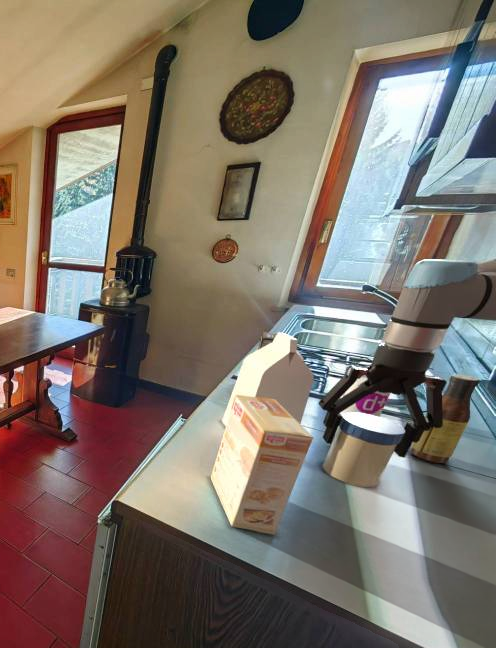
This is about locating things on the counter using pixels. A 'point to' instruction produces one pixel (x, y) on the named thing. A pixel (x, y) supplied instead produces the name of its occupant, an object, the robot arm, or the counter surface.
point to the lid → (372, 428)
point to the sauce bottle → (448, 421)
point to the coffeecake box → (258, 462)
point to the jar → (357, 459)
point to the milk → (275, 377)
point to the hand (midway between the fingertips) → (361, 447)
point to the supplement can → (367, 401)
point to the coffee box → (266, 339)
